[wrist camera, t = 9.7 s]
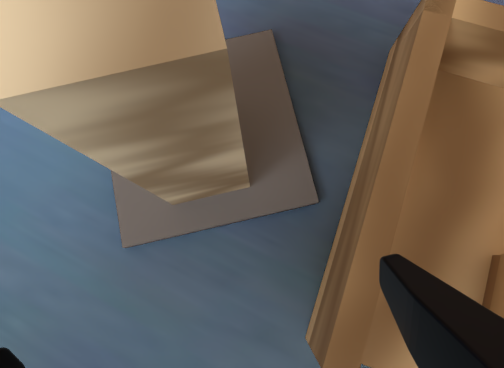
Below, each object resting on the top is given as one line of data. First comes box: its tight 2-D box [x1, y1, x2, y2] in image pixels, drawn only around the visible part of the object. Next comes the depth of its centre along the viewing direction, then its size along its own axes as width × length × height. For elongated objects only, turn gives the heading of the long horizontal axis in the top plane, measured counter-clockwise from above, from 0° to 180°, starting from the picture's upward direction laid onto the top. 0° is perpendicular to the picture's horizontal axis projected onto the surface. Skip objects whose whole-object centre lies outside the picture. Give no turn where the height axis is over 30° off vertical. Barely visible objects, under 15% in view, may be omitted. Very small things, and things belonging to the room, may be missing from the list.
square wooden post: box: [0, 0, 250, 205], centre depth 12 cm, size 4×5×12 cm
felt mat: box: [111, 29, 319, 248], centre depth 18 cm, size 10×10×1 cm
